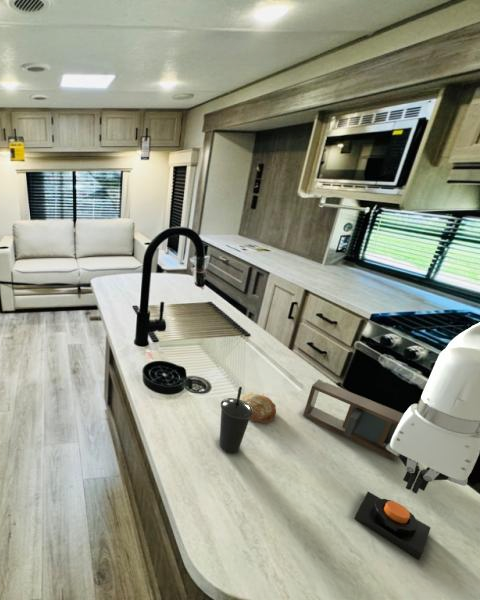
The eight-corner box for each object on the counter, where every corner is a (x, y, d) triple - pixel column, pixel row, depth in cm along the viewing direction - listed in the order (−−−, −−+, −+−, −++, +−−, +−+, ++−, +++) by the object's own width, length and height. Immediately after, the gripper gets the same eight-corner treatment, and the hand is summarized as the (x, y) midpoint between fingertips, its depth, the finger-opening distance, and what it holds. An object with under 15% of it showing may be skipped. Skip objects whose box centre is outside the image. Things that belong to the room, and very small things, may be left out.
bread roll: (236, 410, 105) (230, 393, 102) (265, 398, 104) (260, 381, 101) (253, 433, 96) (247, 415, 93) (286, 420, 94) (280, 401, 92)
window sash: (383, 445, 84) (393, 420, 81) (375, 457, 80) (386, 432, 77) (342, 425, 90) (351, 402, 87) (334, 436, 87) (343, 413, 84)
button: (409, 516, 65) (412, 511, 64) (405, 527, 63) (408, 521, 62) (386, 503, 67) (388, 497, 67) (381, 513, 65) (384, 507, 65)
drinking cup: (207, 440, 89) (217, 382, 81) (228, 433, 91) (240, 375, 84) (228, 461, 82) (241, 400, 75) (250, 452, 84) (264, 392, 77)
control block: (426, 534, 65) (434, 521, 63) (418, 560, 60) (426, 547, 59) (364, 497, 72) (370, 485, 71) (353, 518, 68) (359, 506, 66)
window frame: (398, 451, 84) (414, 417, 80) (393, 461, 81) (410, 426, 77) (309, 409, 100) (318, 379, 95) (302, 415, 97) (312, 385, 93)
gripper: (518, 428, 52) (472, 504, 58) (396, 385, 63) (369, 453, 70) (516, 451, 48) (467, 530, 54) (385, 401, 59) (358, 471, 66)
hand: (412, 486), depth 62 cm, fingers closed
